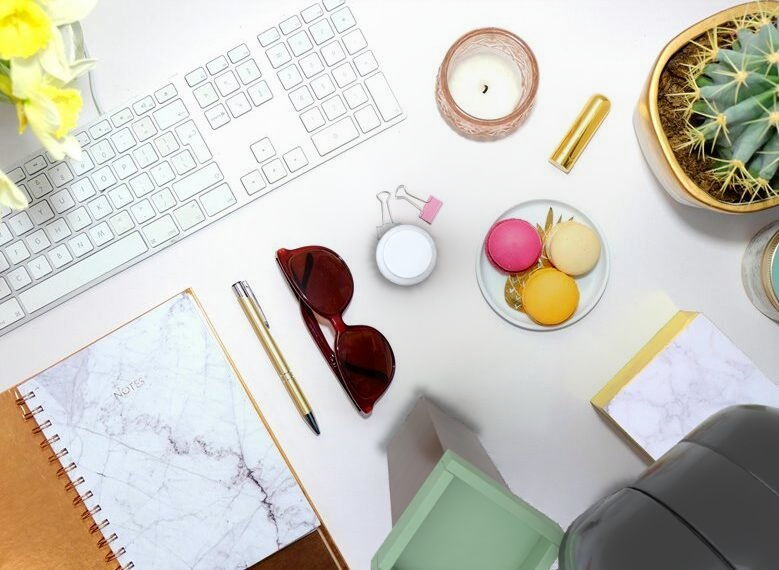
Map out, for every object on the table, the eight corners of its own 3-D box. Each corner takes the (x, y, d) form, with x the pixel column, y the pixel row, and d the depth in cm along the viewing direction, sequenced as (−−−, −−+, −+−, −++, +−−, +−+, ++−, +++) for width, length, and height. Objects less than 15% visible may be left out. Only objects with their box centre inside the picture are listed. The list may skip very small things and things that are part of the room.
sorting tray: (558, 524, 45) (570, 539, 42) (482, 635, 44) (488, 658, 42) (447, 448, 44) (452, 458, 42) (370, 560, 44) (370, 578, 42)
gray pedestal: (473, 431, 72) (535, 528, 44) (437, 482, 72) (477, 612, 44) (421, 395, 72) (452, 471, 44) (386, 447, 72) (393, 555, 44)
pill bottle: (433, 232, 72) (443, 224, 61) (427, 287, 72) (437, 289, 61) (378, 227, 72) (379, 218, 61) (373, 281, 72) (373, 282, 61)
